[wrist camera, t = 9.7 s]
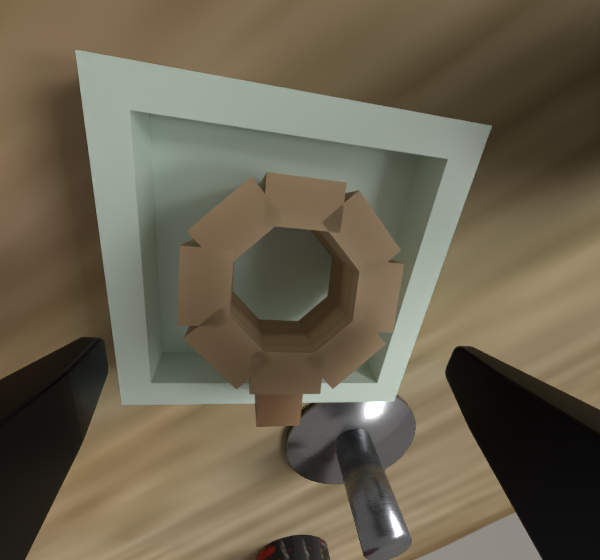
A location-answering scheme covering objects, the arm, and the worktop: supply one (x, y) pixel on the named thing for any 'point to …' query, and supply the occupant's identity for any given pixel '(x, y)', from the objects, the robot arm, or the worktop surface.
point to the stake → (358, 463)
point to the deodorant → (295, 549)
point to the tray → (256, 163)
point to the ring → (317, 322)
